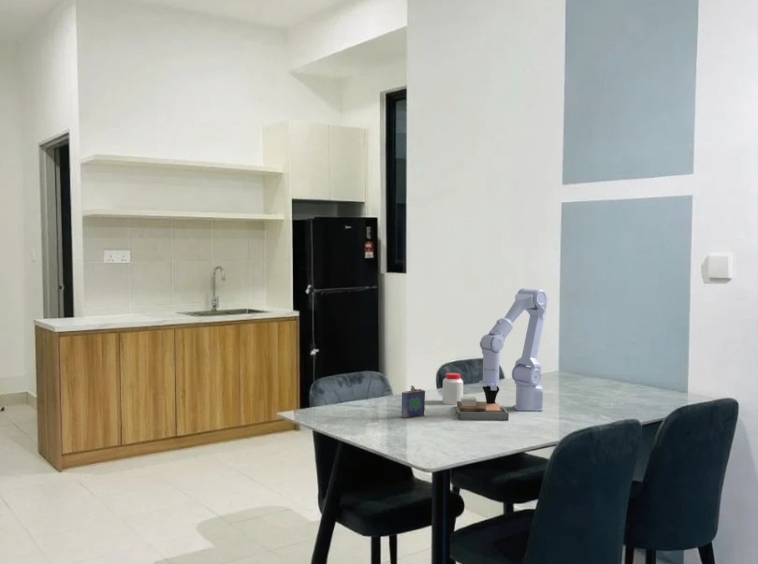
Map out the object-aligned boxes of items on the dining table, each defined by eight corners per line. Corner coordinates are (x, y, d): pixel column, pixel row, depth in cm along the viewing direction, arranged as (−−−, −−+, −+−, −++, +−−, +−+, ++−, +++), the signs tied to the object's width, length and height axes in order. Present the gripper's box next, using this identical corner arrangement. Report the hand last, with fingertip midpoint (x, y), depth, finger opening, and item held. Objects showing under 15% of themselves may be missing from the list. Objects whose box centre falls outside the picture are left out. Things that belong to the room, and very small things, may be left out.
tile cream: (474, 403, 264) (474, 396, 264) (476, 406, 259) (476, 399, 259) (460, 403, 264) (460, 396, 264) (462, 406, 259) (462, 399, 259)
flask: (403, 418, 247) (404, 387, 247) (399, 417, 250) (399, 386, 249) (426, 416, 252) (426, 385, 252) (421, 414, 254) (421, 384, 254)
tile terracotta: (498, 410, 255) (498, 403, 254) (500, 416, 250) (500, 410, 249) (484, 409, 255) (484, 403, 254) (485, 416, 250) (486, 410, 249)
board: (494, 407, 267) (495, 401, 267) (499, 414, 256) (500, 408, 255) (457, 406, 268) (457, 401, 268) (460, 413, 256) (460, 408, 256)
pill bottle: (461, 405, 270) (462, 376, 270) (441, 404, 272) (441, 375, 271) (463, 401, 278) (464, 372, 277) (443, 400, 279) (444, 371, 279)
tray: (504, 414, 255) (504, 407, 255) (508, 420, 246) (508, 413, 246) (456, 413, 256) (456, 406, 256) (458, 419, 247) (458, 412, 247)
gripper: (477, 365, 262) (476, 402, 262) (482, 372, 247) (481, 411, 248) (496, 365, 262) (495, 402, 262) (503, 372, 247) (502, 411, 248)
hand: (490, 407), depth 255 cm, fingers closed
